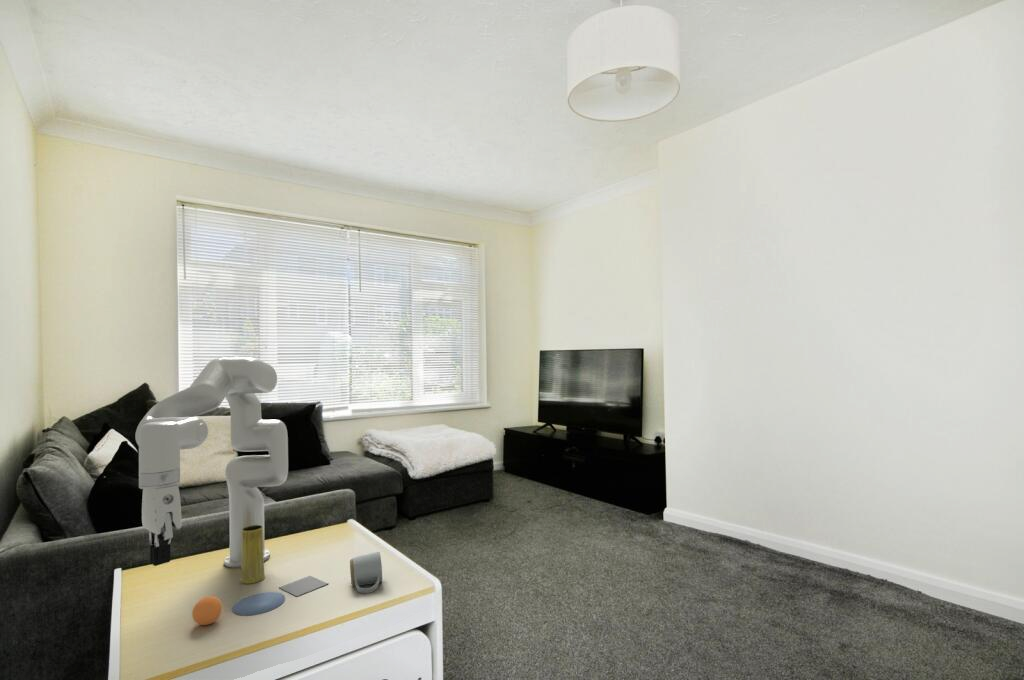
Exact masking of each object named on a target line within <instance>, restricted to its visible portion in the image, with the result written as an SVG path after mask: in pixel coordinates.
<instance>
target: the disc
mask: <svg viewBox="0 0 1024 680" xmlns="http://www.w3.org/2000/svg"><path fill="white" fill-rule="evenodd" d="M285 601H286V596H285V595H284V594H283V593H281V592H277V591H265V592H264V591H263V592H259V593H255V594H250V595H248V596H245V597H243V598H241V599H239V600H238V601H237V602H235V603H234V604H233V605H232V607H231V611H232V613H233V614H235V615H236V616H247V617H248V616H255V615H261V614H265V613H268V612H270V611H272V610H275V609H277V608H279V607H280V606H282V604H284V603H285Z"/></svg>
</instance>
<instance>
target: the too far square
mask: <svg viewBox="0 0 1024 680" xmlns="http://www.w3.org/2000/svg"><path fill="white" fill-rule="evenodd" d="M327 585H329V583H328V582H326V581H323V580H321V579H318V578H316V577H314V576H311V575H308V576H305V577H303V578H300V579H298V580H295V581H292V582H290V583H288V584H285V585H284V584H283V585H282V586H279V587H278V589H279V590H280V589H281V590H282V591H284V592H286V593H288V594H290V595H292V596H294V597H296V598H297V597H300V596H303V595H305V594H308V593H310V592H312V591H315V590H318V589H320V588H323V587H325V586H327Z"/></svg>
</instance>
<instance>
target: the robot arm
mask: <svg viewBox="0 0 1024 680" xmlns="http://www.w3.org/2000/svg"><path fill="white" fill-rule="evenodd" d="M277 383H278V374H277V371H276V369H275V368H274V367H273V366H272V365H271V364H268V363H267V362H264V361H263V360H261V359H258V358H255V357H250V356H249V357H248V356H247V357H219V358H214V359H212V360H210V361H208V363H207V364H206V365H205V367H204V368H203V369H202V370H201V371H200V372H199V374H198V376H197V377H196V378H195V379H194V380H193V382H192V383H191V384H190V386H189V387H187V388H185V389H182V390H180V391H178V392H176V393H174V394H172V395H170V396H167V397H165V398H163V399H161V400H160V401H159V402H157V403H156V404H155V405H153V406H152V407H151V408H150V409H149V410H148V411H147V412H146V414H145V415H144V416H143V418H142V419H141V420H140V422H139V423H138V425H137V427H136V430H135V438H134V439H135V442H136V444H137V446H138V488H139V489H140V490H142V497H141V498H142V499H141V501H142V502H141V524H142V527H143V529H145V530H147V531H148V532H149V533H148V534H149V536H148V537H149V564H151V565H153V567H156V566H160V565H163V564H168V563H170V562H171V544H172V542H171V541H172V539H173V538H174V533H173V529H175V530H176V531H179V530H180V529H182V527H183V525H182V523H183V522H182V520H183V519H182V506H181V505H182V503H181V493H180V487H179V484H180V483H181V450H193V449H196V448H198V447H199V446H201V445H202V444H203V443H205V441H206V439H207V437H208V433H209V428H208V427H209V426H208V425H207V423H206V421H204V419H202V418H200V417H196V416H200V415H204V414H206V413H209V412H212V411H214V410H216V409H217V408H219V406H221V405H222V402H224V400H225V399H226V402H228V406H229V410H230V443H231V447H232V449H233V450H234V451H237V452H247V453H248V452H268V454H262V455H261V454H258V455H257V454H251V455H250V454H249V455H241V456H236V457H233V458H232V459H230V460H229V461H228V463H227V464H226V467H225V471H224V472H225V480H226V485H227V491H228V499H229V501H228V502H229V504H228V505H229V515H228V516H229V517H228V519H229V546H228V548H229V555H227V556H226V557H225V558H224V559H223V565H225V566H226V567H228V568H241V561H242V529H243V528H244V527H247V526H252V525H262V526H263V560H264V562H265V561H266V560H268V559H270V556H271V551H270V550H269V549H267V548H265V547H266V546H265V499H264V496H263V495H262V493H261V491H260V490H259V488H264V487H265V488H266V487H279V486H281V485H283V484H284V483H285V482H286V481H287V478H288V475H289V437H288V429H287V425H286V424H285V422H283V421H282V420H280V419H263V418H262V404H261V401H260V399H259V398H258V397H257V394H269V393H271V392H272V391H274V390H275V388H276V386H277Z"/></svg>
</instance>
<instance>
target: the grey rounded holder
mask: <svg viewBox="0 0 1024 680" xmlns="http://www.w3.org/2000/svg"><path fill="white" fill-rule="evenodd" d="M381 557H382V556H381V552H380V551H376V552H372V553H368V554H363V555H358V556H355V557H353V558H351V559H350V560H349V572H350V583H351V586H353V587H355V588H356V590H357V591H358V592H359V593H362V594H368V593H367V592H370V593H372V592H371V591H373V592H374V591H376V589H377V588H378V587H379V583H382V582H383V565H382V564H383V563H382V558H381ZM364 585H365V586H366V585H372V586H371V587H367V588H364V587H361V586H364Z"/></svg>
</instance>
